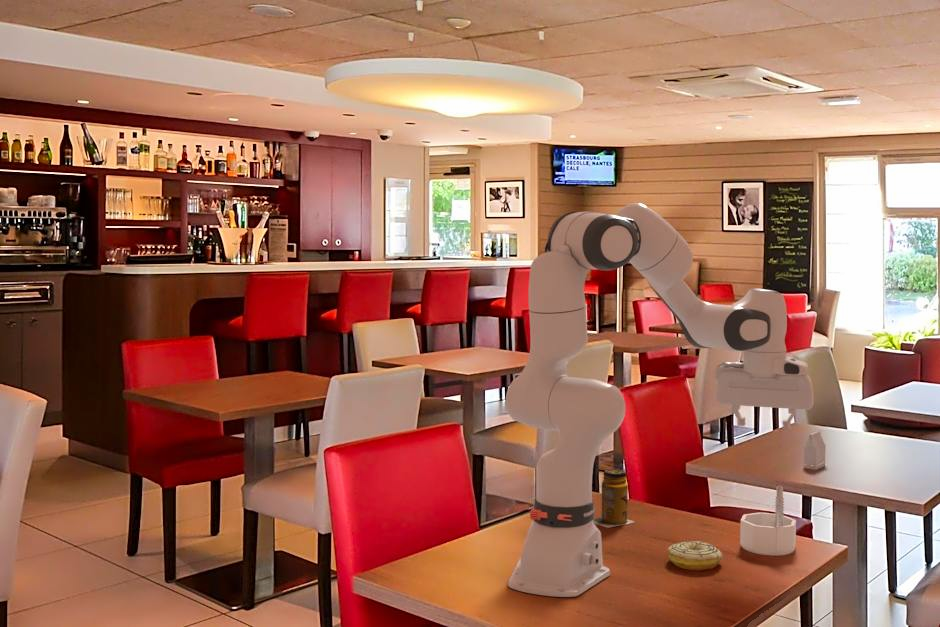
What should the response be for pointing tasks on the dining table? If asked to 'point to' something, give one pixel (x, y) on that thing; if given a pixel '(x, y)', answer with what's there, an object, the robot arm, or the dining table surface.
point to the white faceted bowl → (767, 534)
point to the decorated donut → (694, 555)
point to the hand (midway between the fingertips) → (763, 427)
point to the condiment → (614, 499)
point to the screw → (779, 507)
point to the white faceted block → (814, 452)
